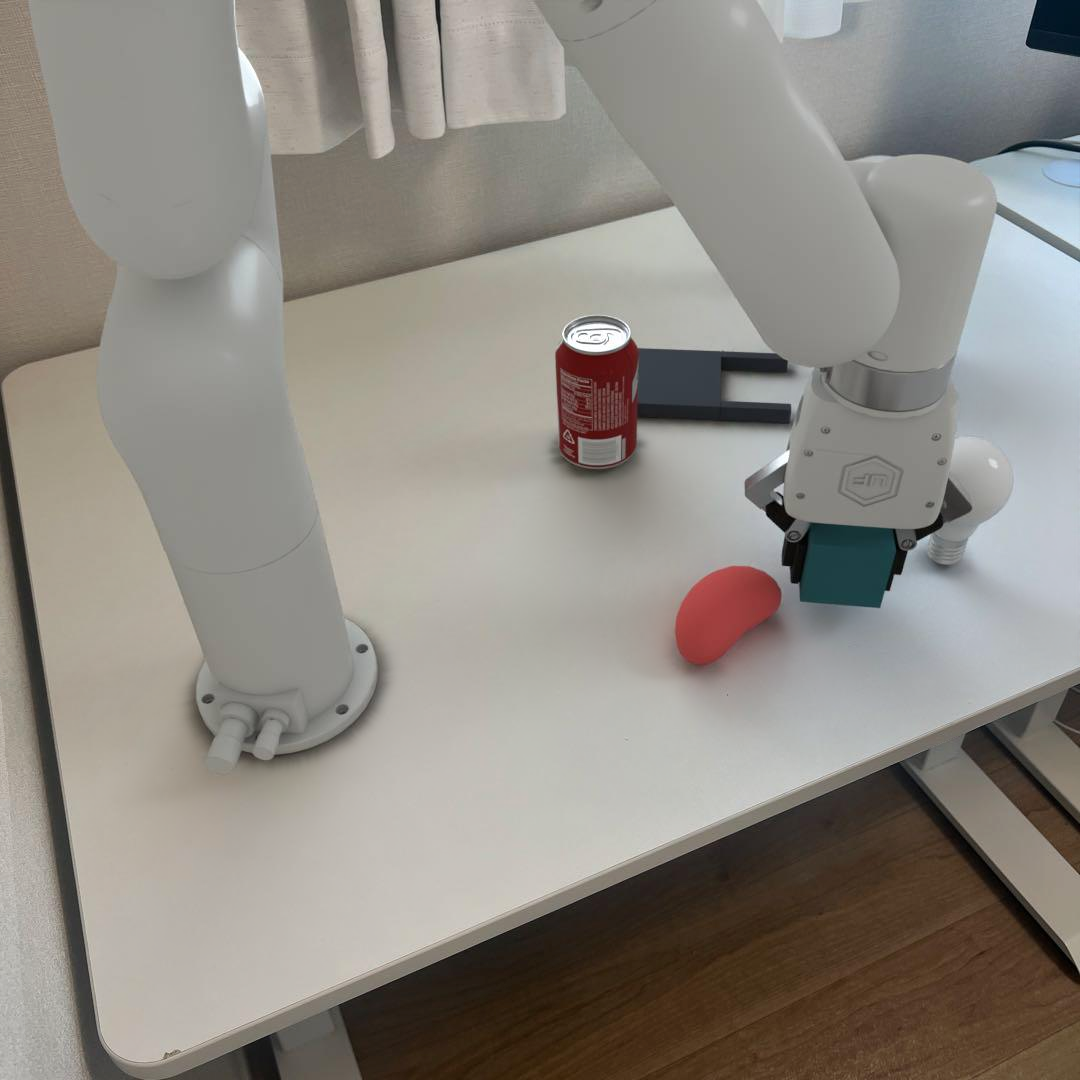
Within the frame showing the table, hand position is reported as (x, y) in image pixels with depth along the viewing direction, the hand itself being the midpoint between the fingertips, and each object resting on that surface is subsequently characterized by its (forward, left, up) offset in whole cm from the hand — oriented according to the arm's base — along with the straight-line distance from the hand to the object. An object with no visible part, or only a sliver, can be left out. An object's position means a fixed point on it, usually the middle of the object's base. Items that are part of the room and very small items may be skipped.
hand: (838, 572), depth 80 cm
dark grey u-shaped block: (+26, +11, -3) cm, 29 cm away
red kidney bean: (-4, +8, -3) cm, 9 cm away
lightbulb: (+5, -9, -3) cm, 11 cm away
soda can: (+16, +19, -3) cm, 25 cm away
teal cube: (0, 0, -1) cm, 1 cm away
